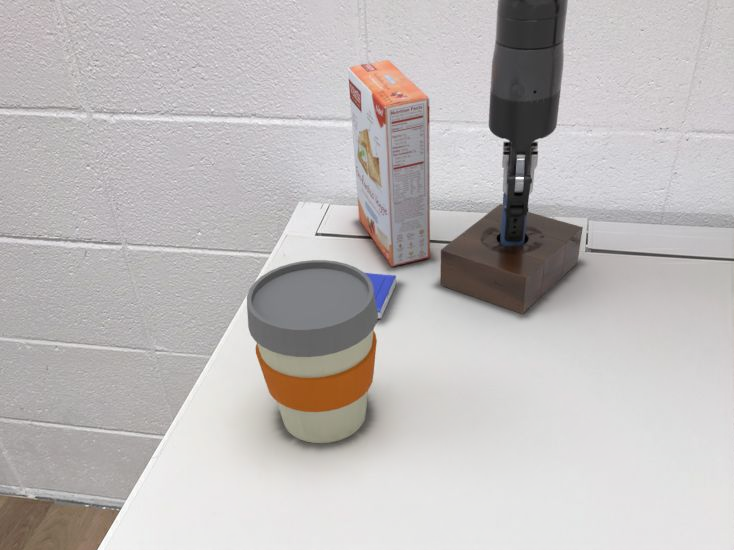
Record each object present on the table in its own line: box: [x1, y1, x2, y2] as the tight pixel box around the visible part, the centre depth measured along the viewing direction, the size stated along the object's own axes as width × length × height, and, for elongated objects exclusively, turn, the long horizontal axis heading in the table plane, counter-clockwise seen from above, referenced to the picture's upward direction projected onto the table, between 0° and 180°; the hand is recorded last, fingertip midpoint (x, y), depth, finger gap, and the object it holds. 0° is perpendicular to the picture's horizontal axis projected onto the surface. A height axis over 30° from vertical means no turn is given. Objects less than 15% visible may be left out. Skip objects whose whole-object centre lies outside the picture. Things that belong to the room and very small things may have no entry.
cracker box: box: [347, 59, 431, 268], centre depth 103 cm, size 14×6×21 cm, turn 18°
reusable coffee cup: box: [246, 259, 379, 444], centre depth 81 cm, size 13×13×15 cm
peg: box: [500, 192, 527, 247], centre depth 99 cm, size 3×3×9 cm
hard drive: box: [364, 272, 397, 320], centre depth 101 cm, size 2×8×12 cm
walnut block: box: [439, 203, 584, 315], centre depth 101 cm, size 14×12×5 cm
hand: (513, 232), depth 99 cm, fingers closed on peg, 3 cm apart
